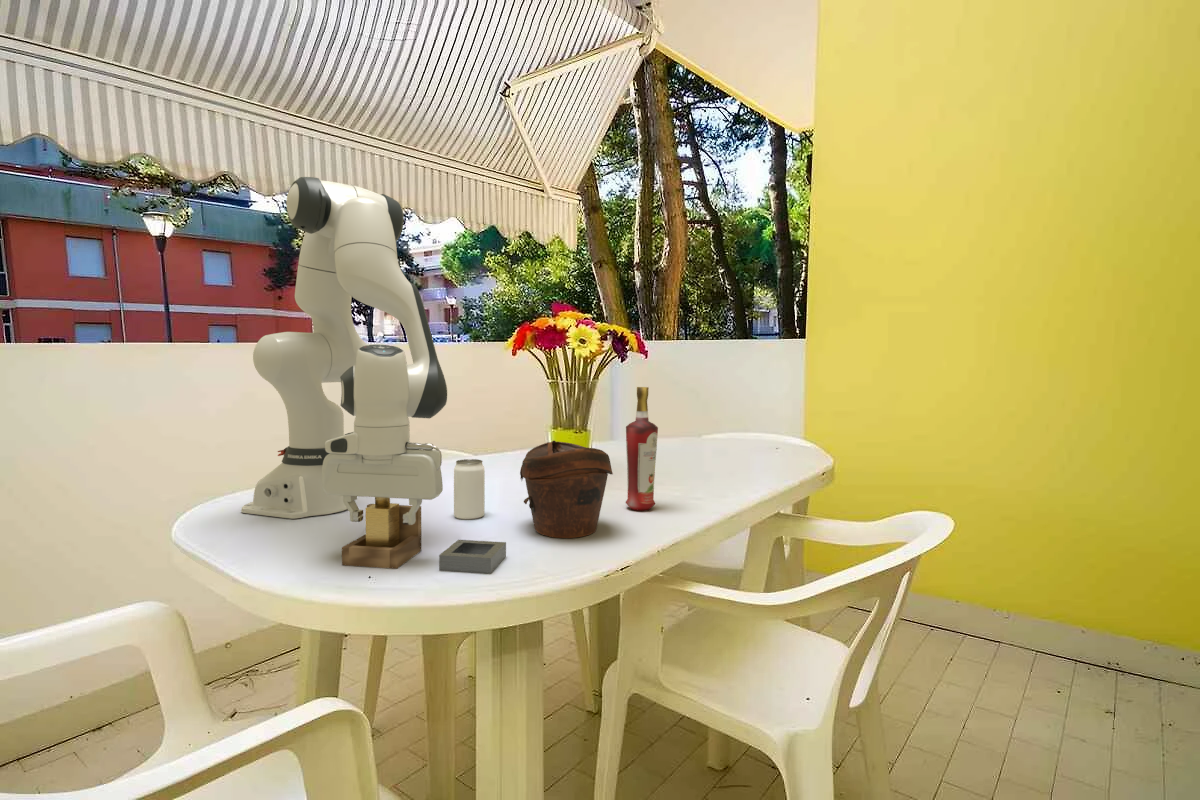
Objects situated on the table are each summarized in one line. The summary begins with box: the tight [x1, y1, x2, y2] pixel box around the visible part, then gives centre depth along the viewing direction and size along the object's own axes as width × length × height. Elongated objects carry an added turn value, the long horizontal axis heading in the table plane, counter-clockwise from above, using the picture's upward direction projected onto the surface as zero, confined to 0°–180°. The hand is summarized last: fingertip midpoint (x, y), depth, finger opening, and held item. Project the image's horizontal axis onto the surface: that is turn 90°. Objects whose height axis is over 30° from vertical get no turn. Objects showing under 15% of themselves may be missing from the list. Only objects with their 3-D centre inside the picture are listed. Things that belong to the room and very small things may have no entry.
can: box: [453, 458, 486, 521], centre depth 133 cm, size 6×6×12 cm
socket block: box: [438, 539, 507, 575], centre depth 103 cm, size 9×9×2 cm
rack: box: [341, 503, 422, 570], centre depth 105 cm, size 10×10×8 cm
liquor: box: [625, 386, 659, 512], centre depth 142 cm, size 7×7×28 cm
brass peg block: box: [365, 497, 400, 548], centre depth 105 cm, size 4×4×13 cm
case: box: [519, 440, 614, 539], centre depth 124 cm, size 18×20×18 cm
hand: (382, 522), depth 105 cm, fingers open, 8 cm apart
